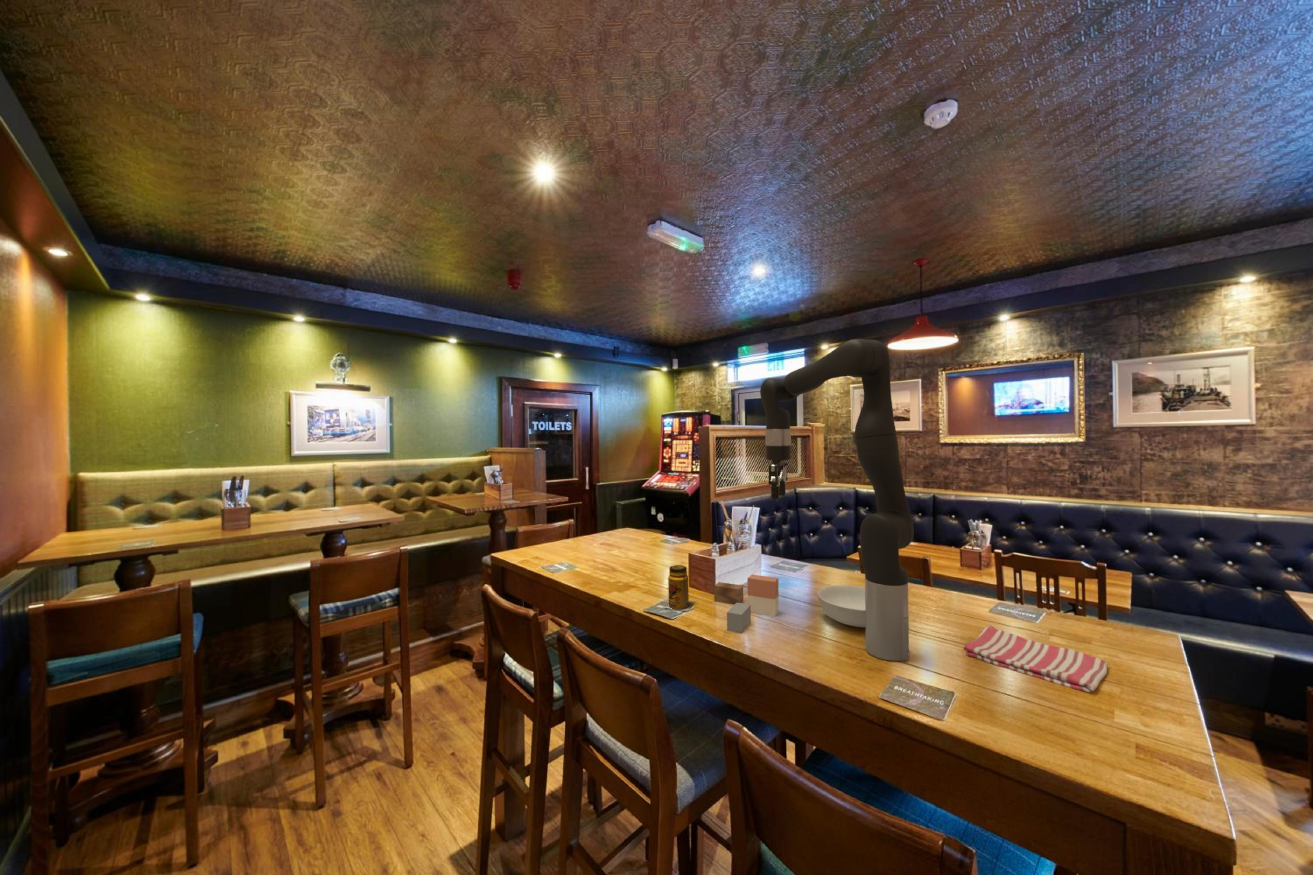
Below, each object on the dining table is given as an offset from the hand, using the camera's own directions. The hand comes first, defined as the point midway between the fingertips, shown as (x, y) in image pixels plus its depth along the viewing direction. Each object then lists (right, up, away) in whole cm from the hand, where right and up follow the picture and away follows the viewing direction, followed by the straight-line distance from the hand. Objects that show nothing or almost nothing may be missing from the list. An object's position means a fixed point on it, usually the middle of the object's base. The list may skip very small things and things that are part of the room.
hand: (778, 497), depth 146 cm
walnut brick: (-15, -33, +3) cm, 36 cm away
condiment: (-30, -33, 0) cm, 45 cm away
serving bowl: (+18, -33, -14) cm, 40 cm away
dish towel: (+48, -33, -38) cm, 69 cm away
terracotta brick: (-6, -28, -7) cm, 29 cm away
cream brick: (-6, -33, -6) cm, 34 cm away
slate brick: (-15, -33, -16) cm, 40 cm away
